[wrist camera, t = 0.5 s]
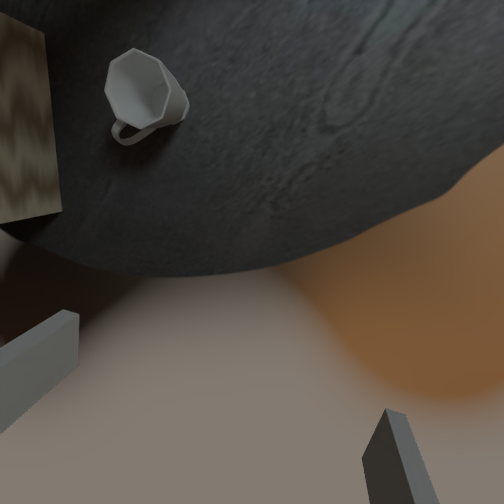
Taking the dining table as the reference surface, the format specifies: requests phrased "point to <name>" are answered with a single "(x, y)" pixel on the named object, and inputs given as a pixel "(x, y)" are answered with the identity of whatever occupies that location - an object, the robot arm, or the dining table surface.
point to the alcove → (26, 126)
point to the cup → (143, 95)
